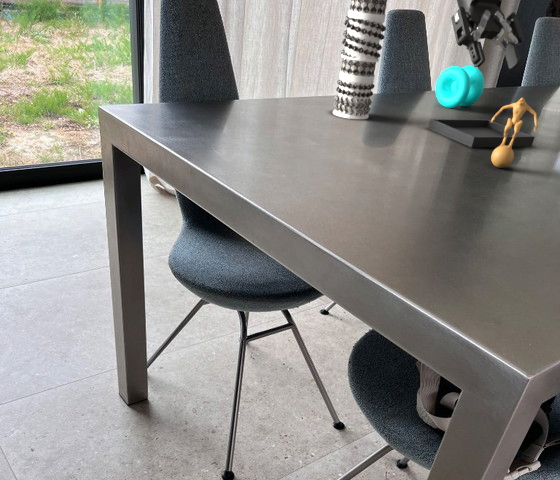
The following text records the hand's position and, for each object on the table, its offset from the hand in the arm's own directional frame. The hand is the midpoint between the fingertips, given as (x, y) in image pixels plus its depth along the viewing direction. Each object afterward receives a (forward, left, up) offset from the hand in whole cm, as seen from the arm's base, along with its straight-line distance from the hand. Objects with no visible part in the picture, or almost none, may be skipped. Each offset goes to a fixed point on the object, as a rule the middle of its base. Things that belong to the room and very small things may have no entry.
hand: (498, 65), depth 105 cm
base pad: (-12, -12, -16) cm, 23 cm away
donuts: (-30, -43, -16) cm, 55 cm away
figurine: (0, +8, -16) cm, 18 cm away
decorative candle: (+10, -32, -16) cm, 37 cm away
